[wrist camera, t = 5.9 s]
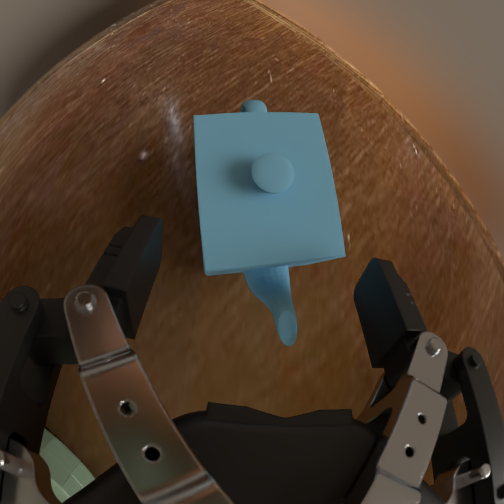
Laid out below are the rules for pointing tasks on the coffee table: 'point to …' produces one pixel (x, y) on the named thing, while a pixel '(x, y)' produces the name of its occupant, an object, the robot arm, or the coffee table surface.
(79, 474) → the serving bowl
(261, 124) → the teapot
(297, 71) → the coffee table surface
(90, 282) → the robot arm
